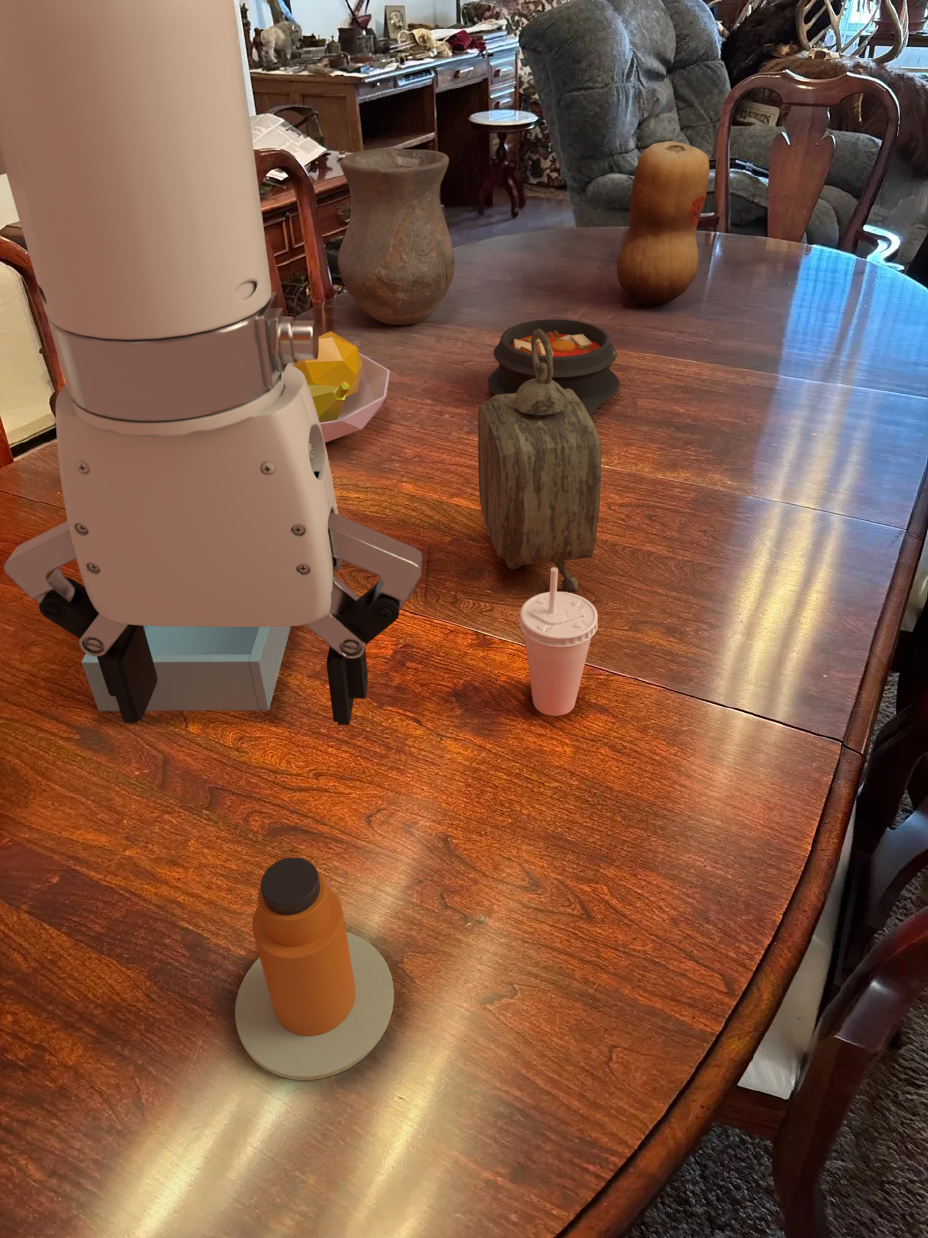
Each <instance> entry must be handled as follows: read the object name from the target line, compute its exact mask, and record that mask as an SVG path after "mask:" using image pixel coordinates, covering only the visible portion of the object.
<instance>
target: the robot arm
mask: <svg viewBox="0 0 928 1238" xmlns="http://www.w3.org/2000/svg"><path fill="white" fill-rule="evenodd" d="M249 110H250V109H249V103H248V97H247V87H246V79H245V74H244V65H243V55H242V48H241V42H240V33H239V26H238V18H237V12H236V6H235V0H0V176H3V175H6V177H7V181H8V184H9V188H10V192H11V195H12V199H13V202H14V205H15V210H16V212H17V213H16V214H17V216H18V220H19V222H20V227H21V230H22V234H23V238H24V241H25V244H26V248H27V252H28V255H29V258H30V263H31V265H32V270H33V274H34V276H35V280H36V283H37V286H38V292H39V294H40V297H41V301H42V305H43V308H44V312H45V314H46V316H47V322H48V326H49V329H50V333H51V337H52V339H53V343H54V347H55V351H56V353H57V358H58V361H59V364H60V368H61V372H62V376H63V378H64V382H65V383H64V384H63V386H62V388H61V390H60V392H59V393H58V395H57V396H56V399H55V429H56V444H57V447H56V448H57V457H58V458H57V459H58V468H59V474H60V475H59V476H60V485H61V490H62V497H63V504H64V508H65V516H66V521H64V522H62V523H60V524H58V525H56V526H54V527H52V528H50V529H48V530H46V531H44V532H42V533H41V534H39V535H37V536H34V537H33V538H31V539H28V540H27V541H25V542H23V543H21V544H19V545H17V546H16V547H15V549H14V550H13V552H12V553H11V554H10V556H9V557H8V558H7V559H6V561H5V562H4V565H3V570H4V572H5V574H6V575H7V576H8V577H9V578H10V579H11V580H12V581H13V582H14V583H15V584H16V585H17V586H18V587H19V588H20V589H21V590H22V591H23V592H24V593H25V594H26V595H27V596H28V597H29V598H30V599H31V600H35V601H36V602H37V603H38V605H39V606H38V609H39V612H40V613H41V615H42V616H44V617H45V618H46V619H47V620H49V621H50V622H52V623H53V624H54V625H55V624H56V625H57V626H59V627H60V628H62V629H63V630H65V631H66V632H67V633H69V634H71V635H73V636H75V638H77V639H79V641H78V646H79V648H80V650H81V651H82V653H83V652H84V653H85V654H88V655H91V656H97V659H98V662H99V665H100V668H101V671H102V675H103V678H104V681H105V684H106V687H107V690H108V693H109V695H110V696H116V700H117V703H118V706H119V709H120V711H119V712H120V715H121V718H122V721H123V723H124V724H137V723H139V721H142V720H143V718H144V715H145V713H146V712H147V711H146V709H147V706H148V704H149V701H150V699H151V696H152V694H153V692H154V689H155V687H156V684H157V673H156V670H155V666H154V662H153V659H152V655H151V652H150V648H149V644H148V641H147V637H146V633H145V630H144V626H189V627H287V626H291V627H299V626H305V627H307V628H308V629H309V630H310V631H311V632H312V633H314V634H315V635H316V636H317V637H319V639H321V640H322V641H323V642H324V643H325V644H326V645H328V646H329V647H328V652H327V657H326V673H327V680H328V686H329V688H328V689H329V695H330V706H331V710H332V719H333V723H337V725H338V726H350V725H351V721H352V713H353V707H354V701H355V699H356V700H357V699H358V700H361V699H362V700H363V699H364V700H365V699H366V698H367V695H368V694H367V693H368V685H369V684H368V683H369V678H368V677H369V674H368V673H369V672H368V662H367V661H368V660H367V651H366V649H367V648H366V646H367V645H368V644H369V643H370V642H371V641H372V640H374V639H375V638H376V637H377V636H379V635H380V634H381V633H382V632H384V631H385V630H386V629H387V628H389V627H390V626H391V625H392V624H393V623H394V622H396V621H397V620H398V618H399V616H400V612H401V610H402V608H403V606H404V605H405V603H407V602H408V599H409V598H410V596H411V594H412V593H413V591H414V590H415V588H416V587H417V584H418V582H419V581H420V580H421V577H422V574H423V563H424V562H423V561H424V556H423V553H422V551H421V550H420V549H418V548H416V547H414V546H412V545H411V544H407V543H405V542H402V541H400V540H398V539H396V538H393V537H391V536H389V535H387V534H384V533H381V532H380V531H377V530H375V529H373V528H370V527H368V526H366V525H364V524H361V523H359V522H356V521H354V520H353V519H349V518H348V517H345V516H343V515H340V514H339V510H338V504H337V498H336V492H335V488H334V486H335V485H334V481H333V475H332V471H331V466H330V460H329V456H328V451H327V447H326V442H324V438H323V434H322V429H321V426H320V422H319V419H318V415H317V412H316V408H315V405H314V401H313V398H312V395H311V392H310V389H309V386H308V384H307V381H306V379H305V376H304V374H303V373H302V372H301V371H300V370H299V369H297V368H296V367H293V366H287V364H288V363H297V361H298V359H311V360H317V358H318V351H319V338H318V337H319V329H318V324H317V322H316V320H297V319H296V317H294V316H285V315H286V314H285V310H284V307H280V306H279V298H278V292H277V291H272V283H271V275H270V267H269V259H268V252H267V243H266V235H265V229H264V228H265V227H264V221H263V213H262V205H261V204H262V203H261V197H260V189H259V180H258V174H257V166H256V158H255V150H254V142H253V134H252V128H251V119H250V111H249ZM75 560H76V562H77V567H78V571H79V574H80V577H81V580H82V583H83V585H82V584H81V583H79V582H78V581H76V580H74V579H72V578H70V577H68V576H64V573H65V572H63V571H62V569H60V568H61V567H63V566H65V565H68V564H69V563H71V562H73V561H75ZM343 562H345V563H347V564H350V565H353V566H355V567H357V568H360V569H362V570H364V571H367V572H370V573H372V574H374V575H376V576H378V577H379V578H380V580H379V581H378V582H376V583H375V584H374V585H373V586H371V587H370V588H369V589H368V590H367V591H365V593H364V594H362V595H361V596H360V595H359V594H357V593H356V591H354V590H353V589H352V588H351V587H350V586H348V585H347V584H346V583H345V582H344V581H343V580H342V579H340V578H339V577H338V576H337V575H336V574H335V573H334V571H340V570H341V568H342V564H343ZM143 625H144V626H143Z"/></svg>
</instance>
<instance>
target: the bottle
mask: <svg viewBox="0 0 928 1238" xmlns="http://www.w3.org/2000/svg"><path fill="white" fill-rule="evenodd" d="M257 902H258V905H257V907H256V908H255V911H254V914H253V917H252V922H251V923H252V925H251V928H252V934H253V938H254V941H255V946H256V949H257V952H258V958H259V957H260V960H261V964H262V968H263V971H264V975H265V979H266V982H267V986H268V990H269V993H270V997H271V1001H272V1004H273V1008H274V1012H275V1015H276V1017H277V1019H278V1021H279V1022H280V1023H281V1025H282V1026H283V1027H284V1028H286V1029H287V1030H289V1031H291V1032H292V1033H295V1034H298V1035H302V1036H316V1035H321V1034H324V1033H326V1032H329V1031H331V1030H333V1029H334V1028H336V1027H337V1026H338V1025H340V1024H341V1023H342V1022H343V1021H344V1020H345V1019H346V1017H347V1016H348V1015H349V1013H350V1012H351V1010H352V1007H353V1005H354V1002H355V996H356V989H355V982H354V976H353V970H352V964H351V958H350V952H349V946H348V940H347V934H346V932H347V929H346V921H345V917H344V910H343V905H342V902H341V900H340V898H339V897H338V895H337V893H336V892H335V891H334V890H333V889H331V888H330V887H329V886H327V883H326V880H325V877H324V876H323V875H322V874H321V872H320V871H319V870H317V867H316V866H315V865H314V864H313V863H312V862H311V861H309V860H307V859H305V858H302V857H296V856H294V857H285V858H282V859H279V860H277V861H276V862H273V864H271V865H269V867H268V868H267V869H266V870H265V871H264V873H263V875H262V877H261V880H260V885H259V889H258V892H257Z"/></svg>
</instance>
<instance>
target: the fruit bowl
mask: <svg viewBox="0 0 928 1238" xmlns="http://www.w3.org/2000/svg"><path fill="white" fill-rule="evenodd" d="M318 338H319V351H318V358H317V360H311V359H298V361H297V363H288V364H287V366H293V367H296V368H297V369H299V370H300V371H301V372H302V373H303V374H304V376H305V379H306V381H307V384H308V386H309V389H310V392H311V395H312V398H313V401H314V405H315V408H316V412H317V415H318V419H319V422H320V426H321V429H322V434H323V438H324V442H325V443H328V442H330V441H331V442H332V441H334V440H336V439H339V438H342V437H344V436H347V435H350V434H352V433H355V432H358V431H361V430H363V429H364V428H365V427H366V425H367V424H368V423H369V422H371V419H373V417H375V415H376V414H377V413H378V411H380V409H381V408H382V406H383V404H384V402H385V400H386V397H387V392H388V387H389V380H390V373H391V370H390V369H389V368H386V367H384V366H383V365H381V364H380V363H379V362H376V361H374V360H373V359H371V358H370V357H368V356H366V355H364V354H362V353H360V351H359V347H358V346H357V345H355V344H353V343H352V342H350V341H348V340H346V339H345V338H343V337H341V336H340V335H338V334H336V333H335V332H333V331H332V330H330V331H328V332H326V333H324V334H321V335H318Z"/></svg>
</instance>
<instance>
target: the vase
mask: <svg viewBox="0 0 928 1238" xmlns="http://www.w3.org/2000/svg"><path fill="white" fill-rule="evenodd" d="M449 163H450V158H449V156H448V155H447V154H446V153H445V152H440V151H437V150H430V149H411V148H409V149H406V148H399V147H398V148H394V147H380V148H373V149H365V150H358V151H354V152H351V153H348V154H346V155H345V156H343V157H342V159H341V160H340V161H339V165H340V169H341V171H342V173H343V175H344V178H345V180H346V182H347V186H348V188H349V193H350V201H351V203H350V204H351V209H350V217H349V221H348V225H347V228H346V231H345V234H344V236H343V239H342V243H341V245H340V248H339V251H338V255H337V267H338V272H339V274H340V278H341V281H342V283H343V285H344V287H345V289H346V291H347V292H348V294H349V295H350V297H351V298H352V299H353V301H355V303H356V304H357V306H359V307H360V309H362V310H363V311H364V312H365V313H366V314H367V315H369V316H370V317H371V318H373V319H374V320H375V321H377V322H380V323H382V324H385V325H390V326H409V325H414V324H417V323H419V322H421V321H424V320H425V319H427V318H428V317H429V316H430V315H431V314H432V313H434V312H435V310H437V308H438V307H439V305H440V304H441V302H442V301H443V300H444V299H445V297H446V296H447V294H448V293H449V290H450V287H451V285H452V282H453V279H454V275H455V269H456V268H455V267H456V261H455V259H456V258H455V251H454V246H453V241H452V238H451V234H450V231H449V228H448V224H447V222H446V219H445V215H444V211H443V208H442V203H441V199H440V190H441V184H442V182H443V179H444V177H445V174H446V172H447V170H448V167H449Z"/></svg>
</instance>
